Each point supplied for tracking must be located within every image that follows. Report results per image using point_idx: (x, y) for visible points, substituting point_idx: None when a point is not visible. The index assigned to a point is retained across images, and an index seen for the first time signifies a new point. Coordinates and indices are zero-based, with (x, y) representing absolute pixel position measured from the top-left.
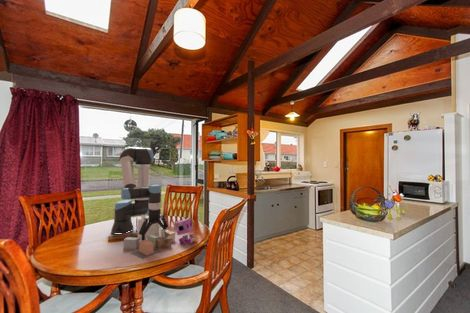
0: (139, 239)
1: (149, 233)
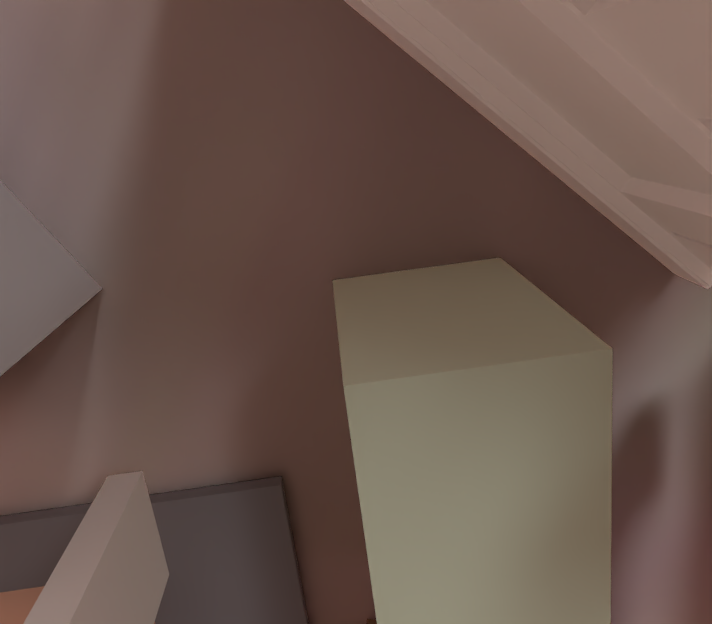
0: (7, 367)
1: (614, 43)
